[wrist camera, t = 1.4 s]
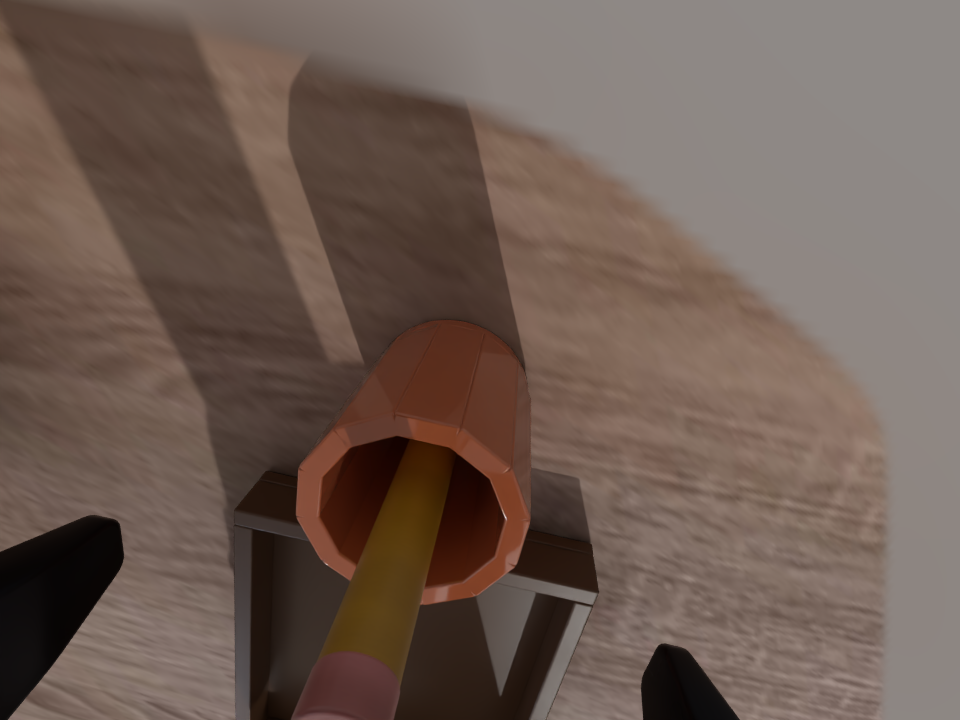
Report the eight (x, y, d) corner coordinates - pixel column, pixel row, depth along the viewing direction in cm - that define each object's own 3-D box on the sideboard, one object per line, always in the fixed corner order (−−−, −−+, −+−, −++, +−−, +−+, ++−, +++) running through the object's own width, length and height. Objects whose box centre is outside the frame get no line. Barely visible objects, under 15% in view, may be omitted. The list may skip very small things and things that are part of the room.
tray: (506, 765, 22) (504, 822, 20) (260, 709, 22) (235, 760, 20) (592, 543, 16) (599, 592, 15) (266, 470, 16) (232, 509, 15)
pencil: (465, 422, 14) (379, 783, 6) (424, 413, 14) (283, 762, 6) (473, 386, 14) (391, 725, 6) (430, 376, 14) (287, 701, 6)
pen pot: (509, 471, 16) (499, 624, 11) (368, 439, 16) (291, 577, 11) (545, 339, 14) (553, 447, 9) (385, 303, 14) (301, 392, 9)
